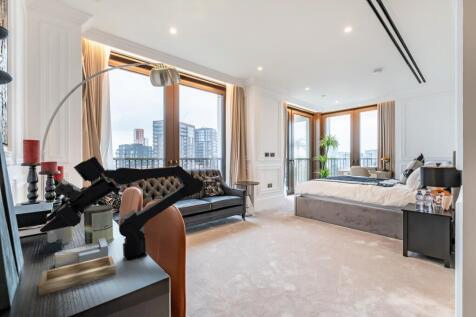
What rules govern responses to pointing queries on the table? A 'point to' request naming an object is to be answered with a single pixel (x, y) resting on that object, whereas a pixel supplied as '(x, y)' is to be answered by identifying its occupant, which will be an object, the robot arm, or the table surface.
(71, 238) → the cup
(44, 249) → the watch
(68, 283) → the oak tray
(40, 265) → the table surface
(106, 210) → the coffee can
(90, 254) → the bracket
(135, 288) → the table surface
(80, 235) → the table surface
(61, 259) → the steel block
